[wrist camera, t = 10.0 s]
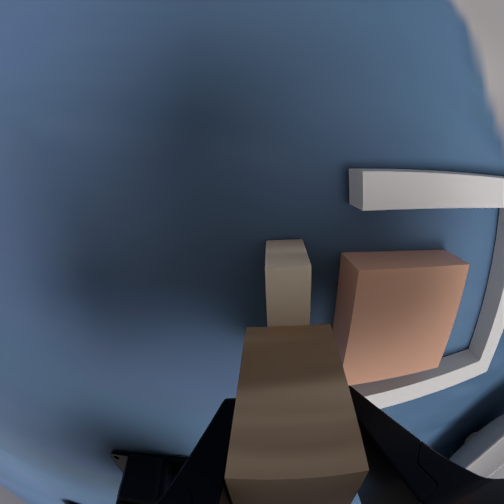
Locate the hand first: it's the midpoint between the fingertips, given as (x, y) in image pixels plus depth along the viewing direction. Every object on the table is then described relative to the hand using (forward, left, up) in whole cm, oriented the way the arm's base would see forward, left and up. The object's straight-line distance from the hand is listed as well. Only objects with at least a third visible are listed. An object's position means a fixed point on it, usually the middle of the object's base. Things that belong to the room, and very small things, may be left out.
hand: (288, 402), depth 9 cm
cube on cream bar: (0, -1, -5) cm, 5 cm away
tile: (0, -6, -6) cm, 8 cm away
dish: (-20, -21, -6) cm, 30 cm away
